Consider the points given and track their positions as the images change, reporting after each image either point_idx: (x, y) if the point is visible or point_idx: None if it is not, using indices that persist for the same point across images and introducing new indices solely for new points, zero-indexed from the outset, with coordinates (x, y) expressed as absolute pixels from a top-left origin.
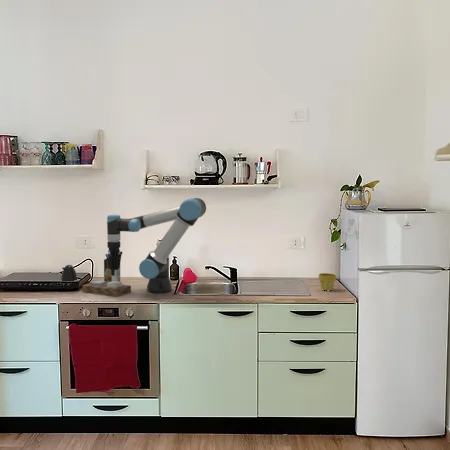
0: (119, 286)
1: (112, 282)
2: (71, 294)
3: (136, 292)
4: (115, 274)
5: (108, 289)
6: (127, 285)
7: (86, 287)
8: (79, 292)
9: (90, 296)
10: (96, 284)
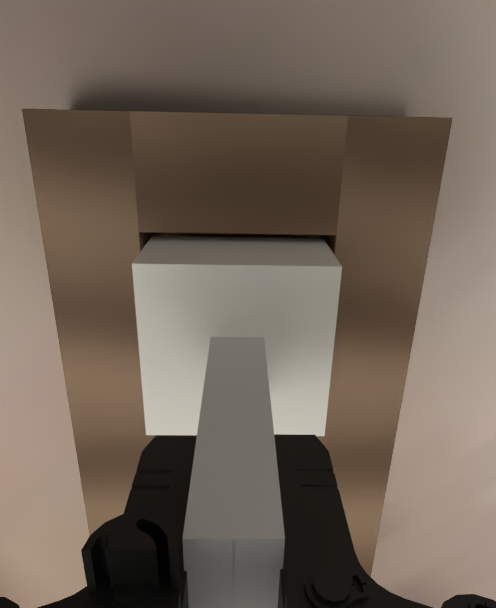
0: (214, 243)
1: None
2: (467, 592)
3: (19, 16)
4: (263, 426)
5: (415, 300)
6: (47, 184)
7: None
8: None
9: (491, 417)
10: None
